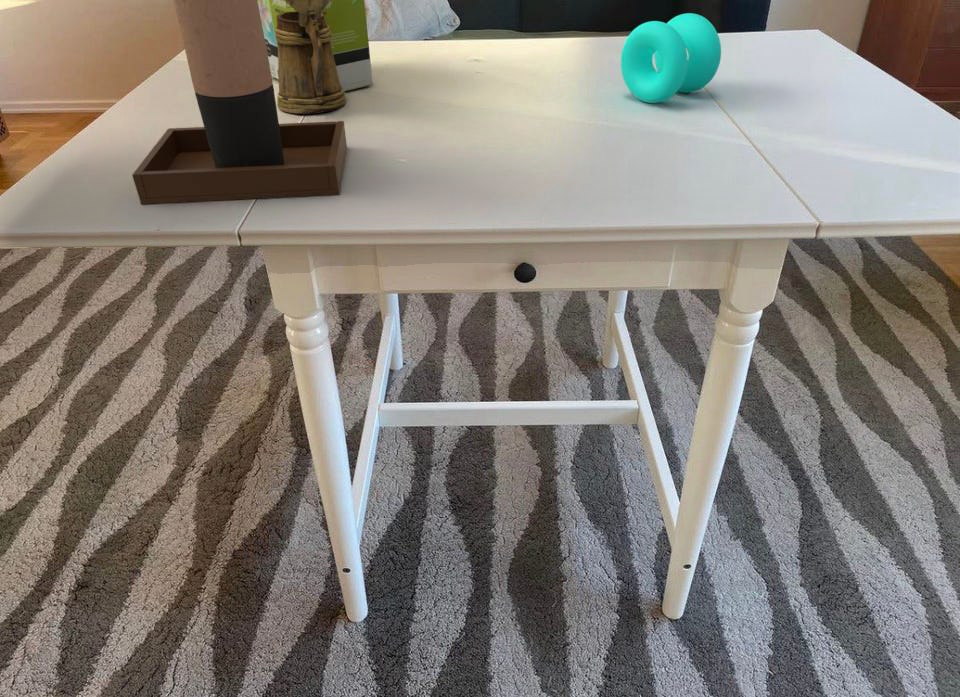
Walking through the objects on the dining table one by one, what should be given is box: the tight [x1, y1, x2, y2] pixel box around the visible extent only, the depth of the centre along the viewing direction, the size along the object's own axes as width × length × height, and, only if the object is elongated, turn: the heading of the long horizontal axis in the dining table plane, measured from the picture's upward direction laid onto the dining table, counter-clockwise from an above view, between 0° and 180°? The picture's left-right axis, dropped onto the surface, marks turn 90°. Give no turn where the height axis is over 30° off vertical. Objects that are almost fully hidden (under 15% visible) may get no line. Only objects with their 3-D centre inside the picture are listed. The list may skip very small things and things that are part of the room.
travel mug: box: [173, 0, 284, 168], centre depth 72 cm, size 8×8×20 cm
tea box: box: [258, 0, 373, 92], centre depth 102 cm, size 15×10×15 cm
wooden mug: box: [275, 0, 347, 115], centre depth 91 cm, size 9×14×18 cm, turn 26°
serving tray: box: [131, 120, 348, 205], centre depth 77 cm, size 20×14×3 cm
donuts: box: [620, 12, 722, 104], centre depth 96 cm, size 10×10×10 cm
